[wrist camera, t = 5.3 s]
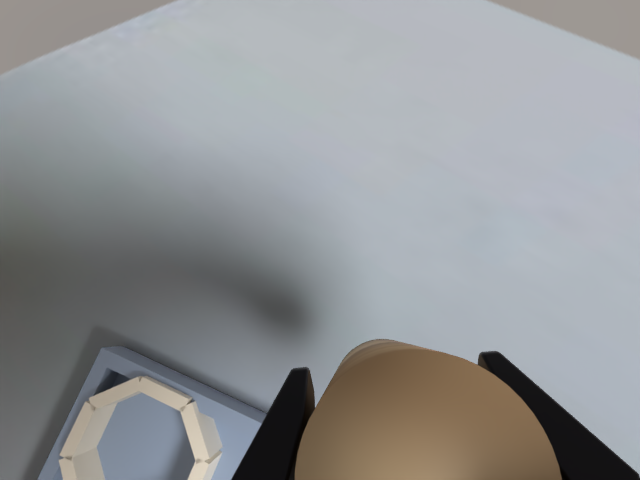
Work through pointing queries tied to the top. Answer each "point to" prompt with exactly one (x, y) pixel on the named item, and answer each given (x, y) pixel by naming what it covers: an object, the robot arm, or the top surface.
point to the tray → (149, 425)
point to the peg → (421, 422)
